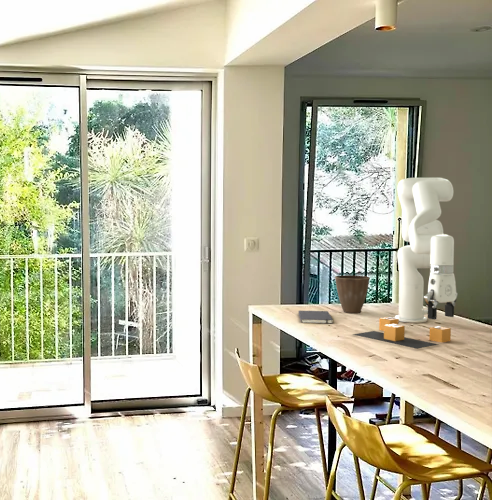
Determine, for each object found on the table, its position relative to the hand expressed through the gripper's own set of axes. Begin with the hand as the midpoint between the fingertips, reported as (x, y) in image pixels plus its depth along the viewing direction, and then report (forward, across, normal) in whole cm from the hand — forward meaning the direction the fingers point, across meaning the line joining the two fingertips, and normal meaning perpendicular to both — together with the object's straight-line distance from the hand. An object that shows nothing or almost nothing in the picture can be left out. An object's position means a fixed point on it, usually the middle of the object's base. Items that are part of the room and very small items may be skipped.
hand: (440, 317), depth 231 cm
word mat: (+9, -12, +10) cm, 18 cm away
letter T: (+8, 0, +22) cm, 24 cm away
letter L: (+9, 0, 0) cm, 9 cm away
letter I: (+8, -12, +10) cm, 18 cm away
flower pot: (+8, +22, +60) cm, 65 cm away
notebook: (+8, -4, +57) cm, 58 cm away
